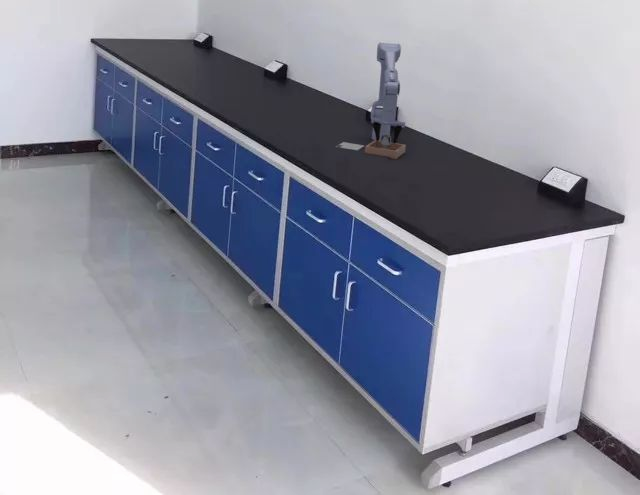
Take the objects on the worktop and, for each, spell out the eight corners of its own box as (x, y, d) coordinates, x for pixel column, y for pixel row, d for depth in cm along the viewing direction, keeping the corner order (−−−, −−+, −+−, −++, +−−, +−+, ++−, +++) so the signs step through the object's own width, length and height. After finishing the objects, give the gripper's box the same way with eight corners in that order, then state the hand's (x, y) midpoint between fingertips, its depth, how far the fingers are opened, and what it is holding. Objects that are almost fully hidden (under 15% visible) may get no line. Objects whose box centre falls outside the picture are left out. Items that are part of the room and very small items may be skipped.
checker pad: (343, 143, 352) (343, 141, 351) (364, 147, 348) (364, 145, 348) (335, 148, 343) (335, 146, 342) (357, 152, 340) (357, 149, 339)
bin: (374, 147, 349) (375, 140, 348) (405, 152, 345) (405, 144, 343) (364, 154, 337) (365, 146, 335) (396, 159, 332) (396, 151, 331)
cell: (381, 150, 343) (383, 133, 340) (390, 151, 341) (392, 134, 339) (379, 152, 339) (380, 135, 337) (387, 153, 338) (389, 136, 335)
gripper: (370, 109, 333) (367, 141, 338) (403, 114, 328) (399, 146, 333) (375, 106, 339) (372, 137, 344) (407, 111, 334) (404, 142, 339)
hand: (386, 141), depth 339 cm, fingers open, 7 cm apart
